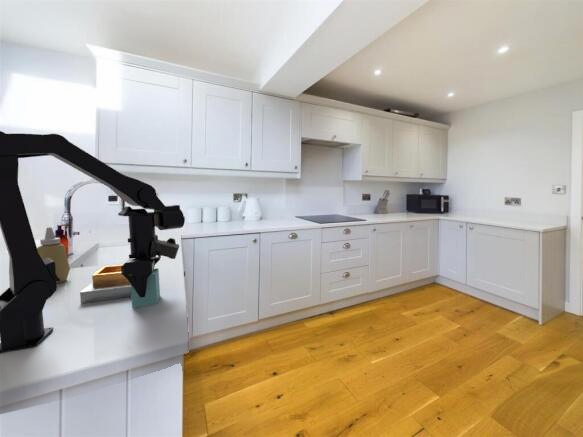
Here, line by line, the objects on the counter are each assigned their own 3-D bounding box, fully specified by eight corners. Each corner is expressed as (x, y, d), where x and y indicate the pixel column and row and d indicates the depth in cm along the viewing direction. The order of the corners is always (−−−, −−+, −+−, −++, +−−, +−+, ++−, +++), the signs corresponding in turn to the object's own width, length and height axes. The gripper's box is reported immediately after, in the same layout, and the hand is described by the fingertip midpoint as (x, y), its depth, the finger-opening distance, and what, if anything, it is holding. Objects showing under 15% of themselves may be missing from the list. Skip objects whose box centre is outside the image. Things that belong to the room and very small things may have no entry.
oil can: (157, 304, 65) (154, 264, 64) (132, 307, 63) (129, 266, 62) (160, 296, 70) (158, 259, 69) (137, 299, 68) (134, 261, 67)
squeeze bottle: (50, 287, 76) (44, 229, 75) (30, 285, 78) (23, 229, 76) (77, 278, 84) (72, 226, 83) (58, 277, 86) (53, 225, 84)
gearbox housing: (133, 296, 69) (132, 275, 69) (81, 303, 65) (79, 281, 65) (146, 275, 87) (145, 258, 87) (105, 279, 83) (104, 262, 82)
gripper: (173, 236, 59) (176, 299, 60) (178, 226, 76) (181, 276, 78) (118, 239, 55) (123, 307, 56) (136, 228, 72) (140, 280, 74)
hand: (146, 290), depth 66 cm, fingers open, 9 cm apart
